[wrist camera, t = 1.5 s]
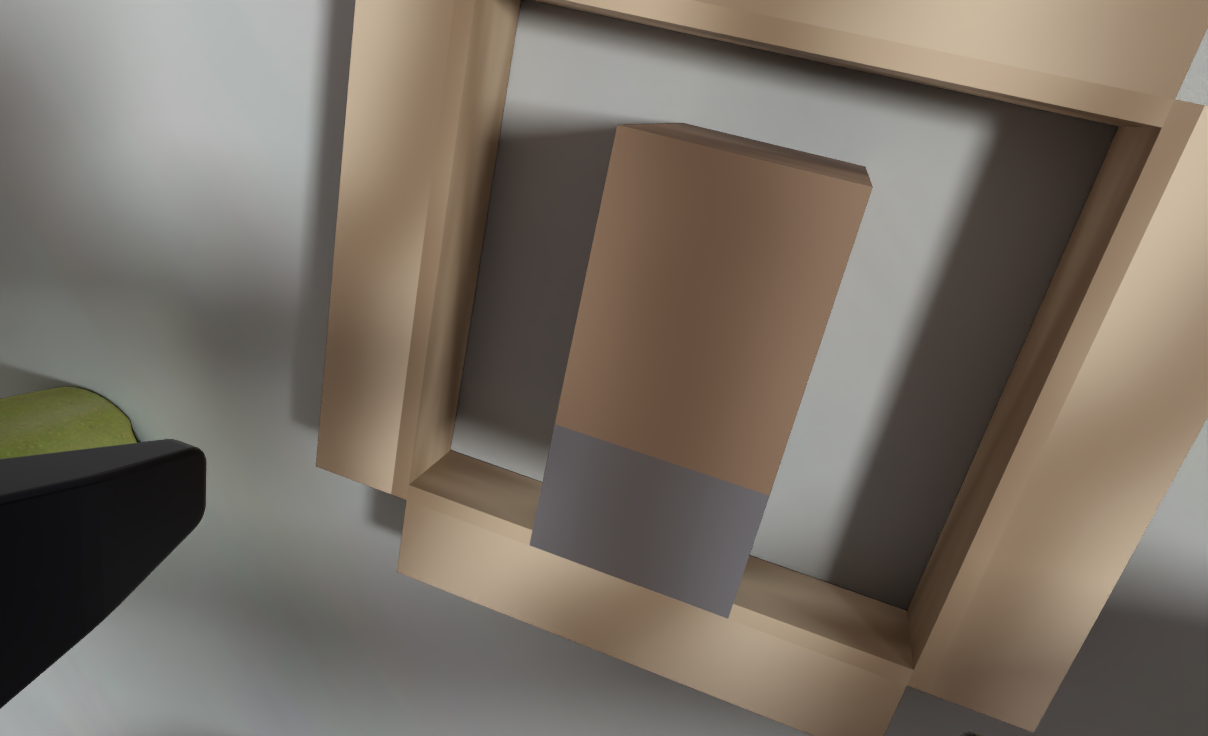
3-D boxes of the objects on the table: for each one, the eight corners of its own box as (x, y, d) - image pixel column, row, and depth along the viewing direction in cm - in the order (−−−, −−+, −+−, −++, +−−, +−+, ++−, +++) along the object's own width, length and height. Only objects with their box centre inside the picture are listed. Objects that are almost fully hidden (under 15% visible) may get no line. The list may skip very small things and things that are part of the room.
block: (865, 166, 18) (872, 187, 13) (758, 491, 21) (728, 618, 16) (683, 122, 19) (616, 124, 14) (607, 440, 22) (529, 545, 17)
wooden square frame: (1355, 2, 15) (1448, -19, 13) (978, 733, 22) (993, 806, 19) (430, -160, 19) (372, -198, 17) (357, 500, 26) (309, 537, 23)
